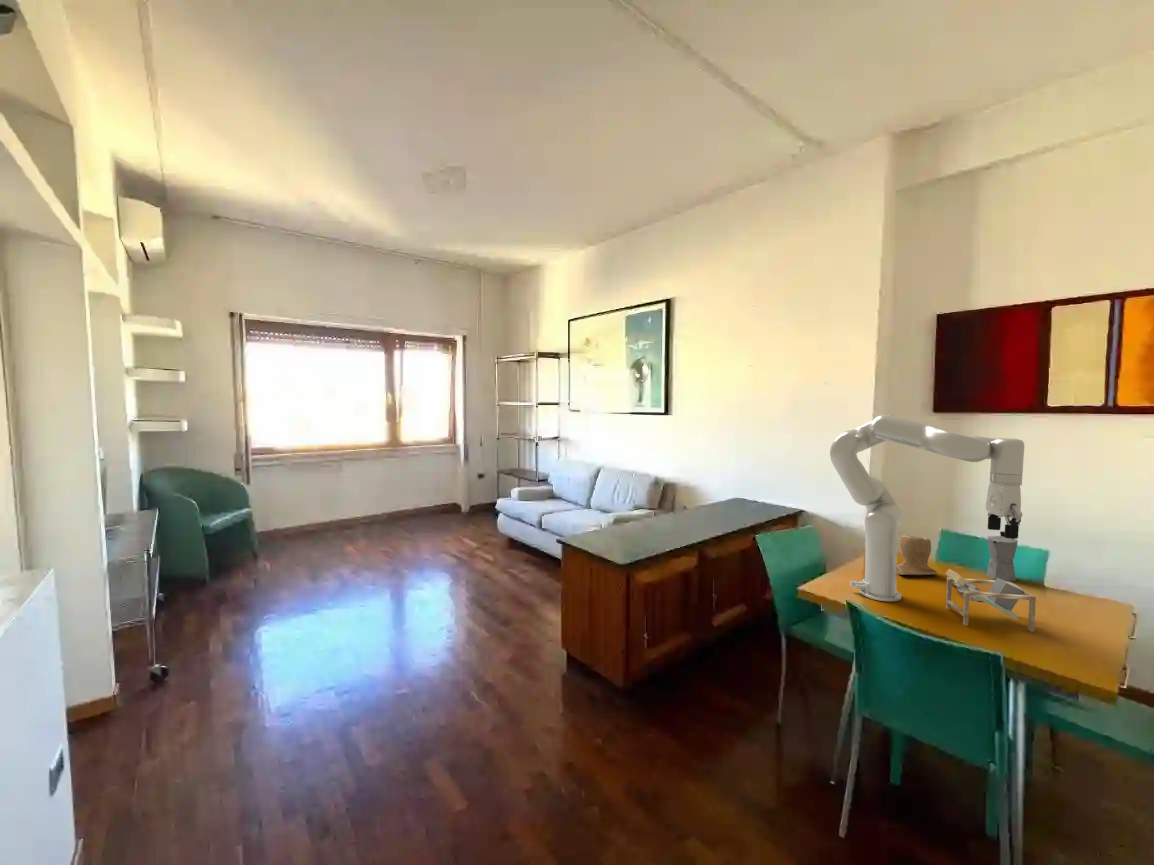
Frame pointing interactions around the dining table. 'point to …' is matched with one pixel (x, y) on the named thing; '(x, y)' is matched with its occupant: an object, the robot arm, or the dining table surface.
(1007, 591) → the granite block
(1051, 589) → the dining table surface
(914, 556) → the stone cup
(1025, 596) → the trapdoor frame
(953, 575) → the trapdoor
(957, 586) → the stone fragment
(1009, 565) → the coffeepot
